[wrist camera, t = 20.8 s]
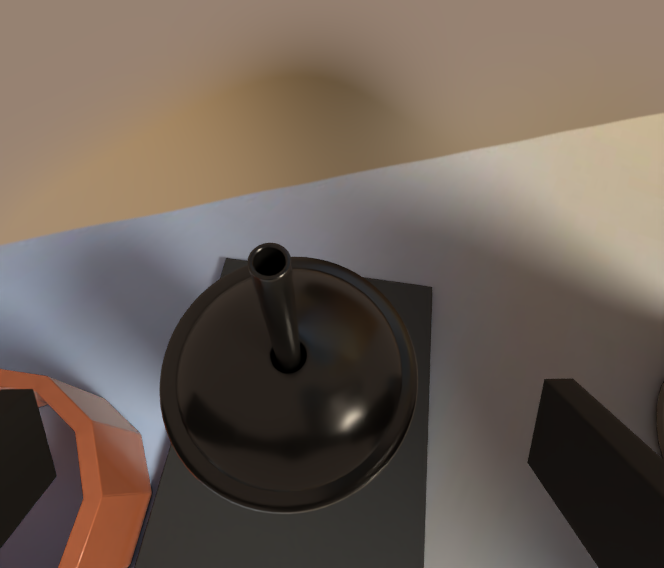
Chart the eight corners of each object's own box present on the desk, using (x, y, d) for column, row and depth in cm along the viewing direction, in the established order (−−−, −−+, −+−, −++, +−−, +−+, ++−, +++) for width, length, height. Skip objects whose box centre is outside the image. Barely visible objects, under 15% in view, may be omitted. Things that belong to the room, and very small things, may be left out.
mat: (430, 290, 29) (432, 286, 29) (418, 643, 20) (421, 647, 20) (227, 261, 30) (225, 257, 29) (129, 595, 21) (124, 598, 20)
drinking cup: (297, 339, 27) (261, 41, 9) (391, 416, 25) (597, 238, 7) (211, 434, 24) (-107, 286, 6) (309, 529, 22) (287, 747, 4)
